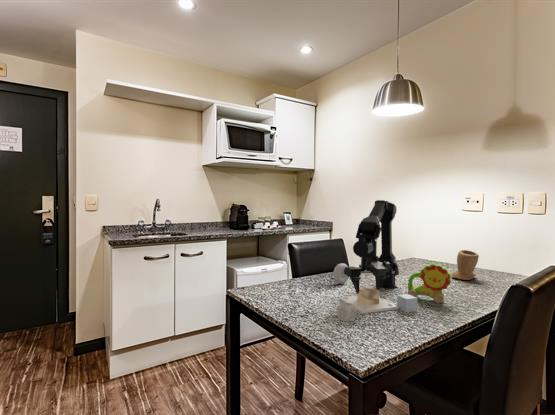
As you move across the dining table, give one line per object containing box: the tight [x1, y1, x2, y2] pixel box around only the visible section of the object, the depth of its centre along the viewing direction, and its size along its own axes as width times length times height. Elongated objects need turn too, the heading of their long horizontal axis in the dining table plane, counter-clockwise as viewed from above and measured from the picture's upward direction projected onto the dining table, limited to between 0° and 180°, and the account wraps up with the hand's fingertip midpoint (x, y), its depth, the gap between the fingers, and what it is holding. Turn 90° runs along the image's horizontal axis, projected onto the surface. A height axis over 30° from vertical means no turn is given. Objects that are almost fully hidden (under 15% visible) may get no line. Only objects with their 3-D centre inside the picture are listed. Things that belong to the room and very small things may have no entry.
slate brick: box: [396, 293, 418, 313], centre depth 119 cm, size 5×5×5 cm
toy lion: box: [406, 262, 452, 304], centre depth 130 cm, size 16×5×15 cm, turn 59°
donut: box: [332, 262, 350, 285], centre depth 153 cm, size 10×4×10 cm, turn 125°
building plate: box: [338, 295, 399, 314], centre depth 124 cm, size 16×16×2 cm
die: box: [336, 302, 358, 323], centre depth 108 cm, size 5×5×5 cm
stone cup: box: [450, 249, 480, 281], centre depth 167 cm, size 15×12×15 cm
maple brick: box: [356, 286, 381, 305], centre depth 124 cm, size 6×6×5 cm
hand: (367, 292), depth 124 cm, fingers open, 9 cm apart
